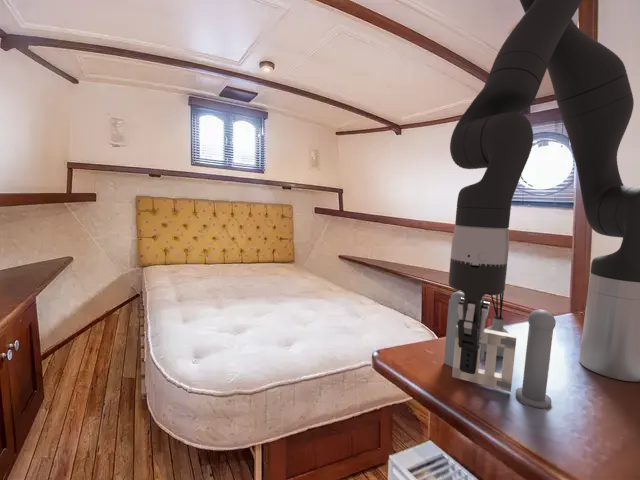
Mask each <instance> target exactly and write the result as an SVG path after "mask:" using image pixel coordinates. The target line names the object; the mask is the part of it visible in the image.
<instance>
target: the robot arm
mask: <svg viewBox="0 0 640 480" xmlns="http://www.w3.org/2000/svg"><path fill="white" fill-rule="evenodd" d="M583 1H584V0H519V2H520V5H521V7H522V10H523V12H524V15H523V16H522V17H521V19H519V21H518V23H516V25H515V27H514V28H513V29H512V30H511V32H510V33H509V34H508V36H507V38H506V39H505V41H504V42H503V44H502V45H501V47H500V49H499V50H498V52H497V55H496V57H495V59H494V62H493V63H492V67H491V69H490V71H489V73H488V76H487V78H486V81H485V84H484V86H483V88H482V89H481V90H480V92H479V93H478V94H477V95H476V96H475V97H474V99H473V100H472V102H471V104H469V106H468V107H467V109H465V111H464V113H463V115H462V116H461V117H460V119H459V120H458V121H457V123H456V124H455V126H454V129H453V131H452V135H451V137H450V141H449V142H450V143H449V153H450V156H451V159H452V161H453V162H454V164H455V165H456V166H457V167H459V168H462V169H466V170H477V169H485V172H484V174H483V176H482V178H481V179H480V180H479V181H477V182H476V183H473V184H469V185H467V186H464V187H462V188H461V189H460V190H459V192H458V195H457V201H456V202H457V203H456V211H455V223H454V224H455V226H454V231H453V235H452V239H451V250H450V262H449V274H448V286H449V287H450V288H452V289H453V290H455V291H459V292H463V293H464V298H461V301H460V302H459V303H458V311H457V312H458V314H459V322H458V323H457V325H458V337H459V342H458V345H459V347H460V348H461V358H460V370H461V371H462V372H465V373H469V374H475V372H476V368H477V358H478V350H479V349H480V345H481V342H480V339H481V337H483V334H484V331H485V329H486V323H487V318H488V314H489V312H490V302H489V301H485V296H486V295H487V296H491V295H492V296H496V295H498V296H500V294H501V295H502V293H503V292H504V293H505V290H506V281H507V269H508V261H509V251H510V249H509V248H510V237H509V236H510V235H509V231H510V230H509V229H510V228H509V227H510V220H511V219H510V217H511V208H512V202H513V197H514V195H515V192H516V190H517V187H518V184H519V182H520V179H521V177H522V175H523V172H524V169H525V168H526V167H525V166H526V164H527V162H528V159H529V157H530V155H531V152H532V148H533V144H534V131H533V125H532V124H531V121H530V120H529V119H528V117H527V116H526V115H525V114H523V112H524V111H526V110H527V109H528V108H530V107H531V105H532V104H533V103H534V101H535V99H536V97H537V95H538V93H539V89H540V87H541V85H542V83H543V80H544V77H545V75H546V72H547V71H548V75H549V78H550V82H551V86H552V89H553V92H554V93H553V94H554V96H555V100H556V104H557V107H558V111H559V113H560V117H561V120H562V123H563V125H564V128H565V131H566V134H567V136H568V137H567V138H568V140H569V144H570V149H571V152H572V156H573V158H574V162H575V167H576V172H577V175H578V182H579V188H580V194H581V198H582V200H581V201H582V205H583V210H584V211H583V212H584V215H585V218H586V220H587V223H588V224H589V227H590V228H591V230H593V231H594V232H596V233H597V234H599V235H601V236H607V237H611V238H613V237H614V238H622V241H621V244H620V247H619V249H618V250H616V251H615V252H612V253H610V254H607V255H606V254H605V255H600V256H596V257H594V258H593V259H592V261H591V265H590V271H589V279H588V280H589V281H588V288H587V296H586V303H585V304H586V305H585V313H584V319H583V326H582V336H581V342H580V350H579V359H578V361H579V363H580V364H581V365H582V366H583V367H584V368H586V369H587V370H590V371H591V372H594V373H596V374H599V375H601V376H605V377H607V378H611V379H614V380H619V381H623V382H640V184H630V185H629V184H628V185H627V184H626V185H624V183H623V181H622V178H621V175H620V170H619V166H618V151H619V147H620V145H621V143H622V139H623V138H624V135H625V133H626V131H627V128H628V126H629V123H630V120H631V118H632V114H633V111H634V106H635V105H634V102H635V101H634V95H633V92H632V88H631V84H630V80H629V76H628V73H627V69H626V66H625V63H624V62H623V61H622V59H621V57H619V55H617V54H616V53H615V52H614V51H612V50H611V49H609V48H608V47H607V46H605V45H604V44H602V43H600V42H599V41H598V40H596V39H594V38H592V37H591V36H589V35H588V34H586V33H585V32H584V31H583V30H581V29H580V28H579V27H578V26H577V24H575V21H574V20H573V17H574V15H576V12H577V11H578V9H579V7H580V6H581V4H582V3H583Z"/></svg>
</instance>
